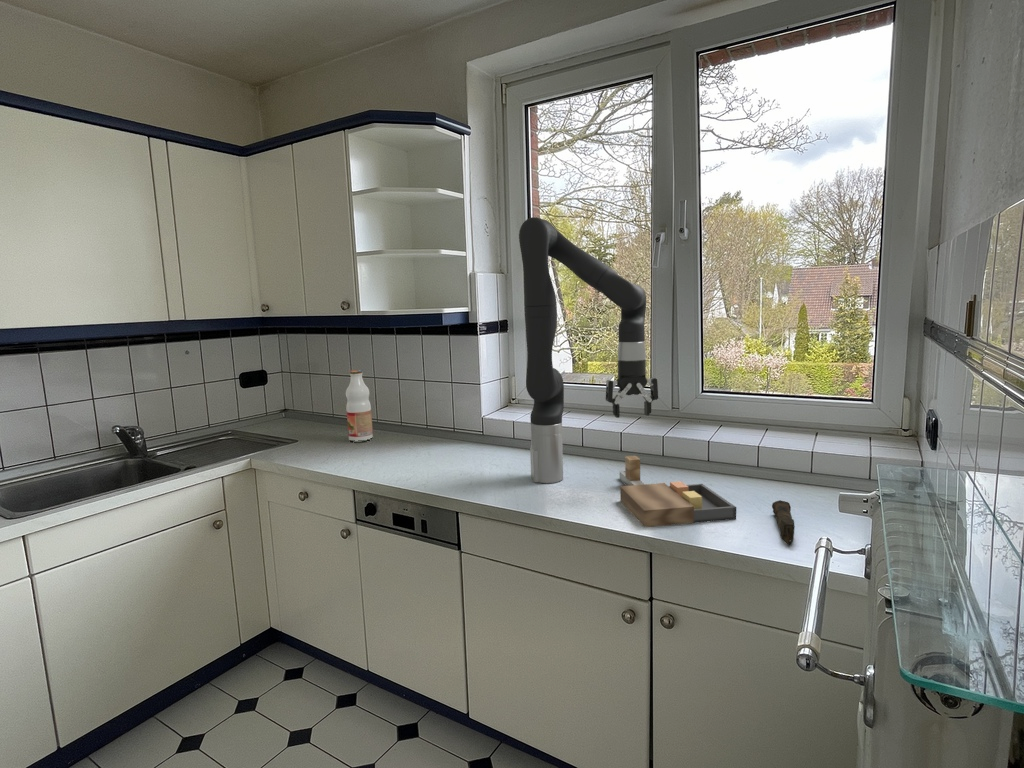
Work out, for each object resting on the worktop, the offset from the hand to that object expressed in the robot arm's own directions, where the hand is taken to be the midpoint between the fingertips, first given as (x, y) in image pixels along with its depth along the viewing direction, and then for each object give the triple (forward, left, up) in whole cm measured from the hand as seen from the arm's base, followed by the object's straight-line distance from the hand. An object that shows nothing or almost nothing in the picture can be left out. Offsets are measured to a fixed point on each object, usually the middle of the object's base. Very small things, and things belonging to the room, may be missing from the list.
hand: (631, 416), depth 161 cm
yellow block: (+7, -24, -17) cm, 30 cm away
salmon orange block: (+7, -16, -17) cm, 25 cm away
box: (+10, -20, -20) cm, 30 cm away
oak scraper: (0, 0, -20) cm, 20 cm away
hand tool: (+23, -37, -21) cm, 48 cm away
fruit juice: (-85, +79, -20) cm, 118 cm away
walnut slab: (-1, -20, -20) cm, 28 cm away
